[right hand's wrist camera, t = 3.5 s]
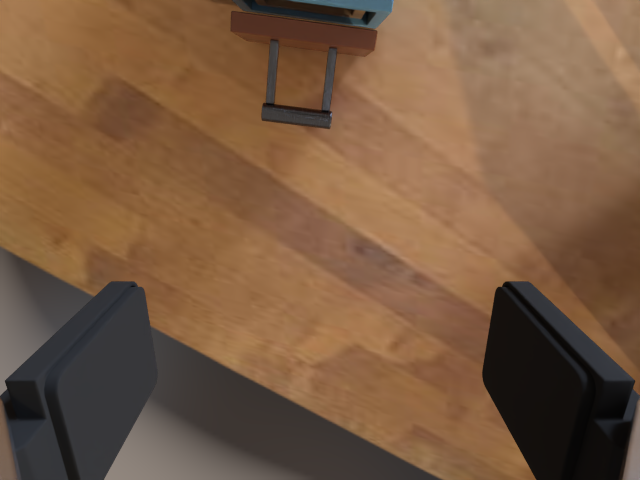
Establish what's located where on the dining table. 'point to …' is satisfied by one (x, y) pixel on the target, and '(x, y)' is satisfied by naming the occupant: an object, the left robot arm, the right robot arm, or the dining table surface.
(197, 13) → the dining table surface
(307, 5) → the drawer
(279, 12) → the cabinet
